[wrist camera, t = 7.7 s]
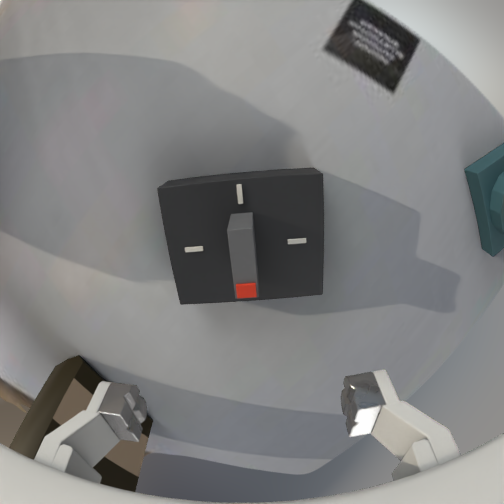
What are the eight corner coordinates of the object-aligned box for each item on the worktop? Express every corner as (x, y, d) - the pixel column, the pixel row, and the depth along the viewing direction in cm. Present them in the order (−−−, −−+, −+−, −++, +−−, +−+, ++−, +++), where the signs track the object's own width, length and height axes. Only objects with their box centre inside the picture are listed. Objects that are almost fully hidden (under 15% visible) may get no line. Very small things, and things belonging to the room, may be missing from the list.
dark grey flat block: (314, 167, 23) (323, 173, 20) (315, 277, 27) (322, 295, 24) (167, 180, 23) (156, 188, 20) (186, 287, 27) (180, 305, 24)
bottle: (127, 428, 38) (92, 557, 16) (52, 364, 33) (-18, 499, 10) (160, 421, 37) (129, 570, 14) (78, 349, 31) (-3, 512, 8)
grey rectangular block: (230, 213, 21) (226, 231, 18) (252, 211, 21) (253, 229, 18) (237, 275, 23) (235, 301, 20) (258, 273, 23) (259, 299, 20)
